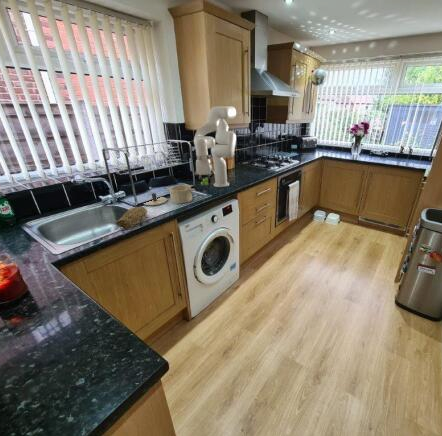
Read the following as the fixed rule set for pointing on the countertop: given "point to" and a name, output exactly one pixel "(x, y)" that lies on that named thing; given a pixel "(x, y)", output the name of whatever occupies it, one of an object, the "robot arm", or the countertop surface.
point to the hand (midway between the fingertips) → (205, 183)
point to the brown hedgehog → (132, 217)
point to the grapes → (205, 181)
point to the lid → (156, 200)
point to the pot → (180, 193)
